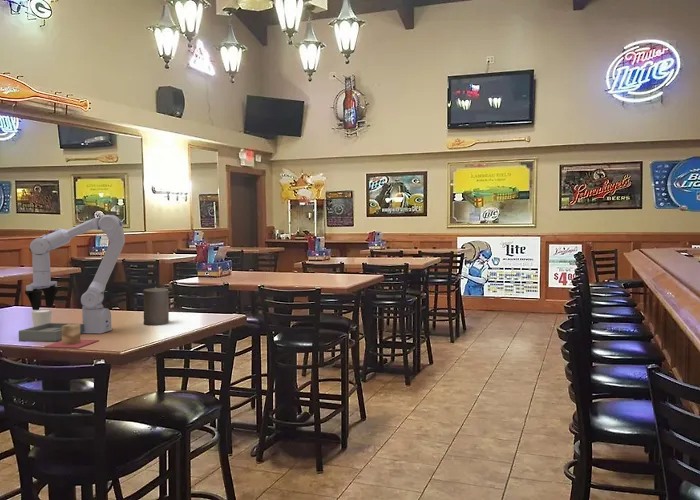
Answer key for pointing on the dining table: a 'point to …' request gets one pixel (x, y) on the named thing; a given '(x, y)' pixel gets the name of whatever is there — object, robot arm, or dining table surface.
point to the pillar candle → (156, 306)
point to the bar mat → (77, 345)
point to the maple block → (71, 334)
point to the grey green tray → (45, 332)
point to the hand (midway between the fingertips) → (42, 308)
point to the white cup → (41, 317)
